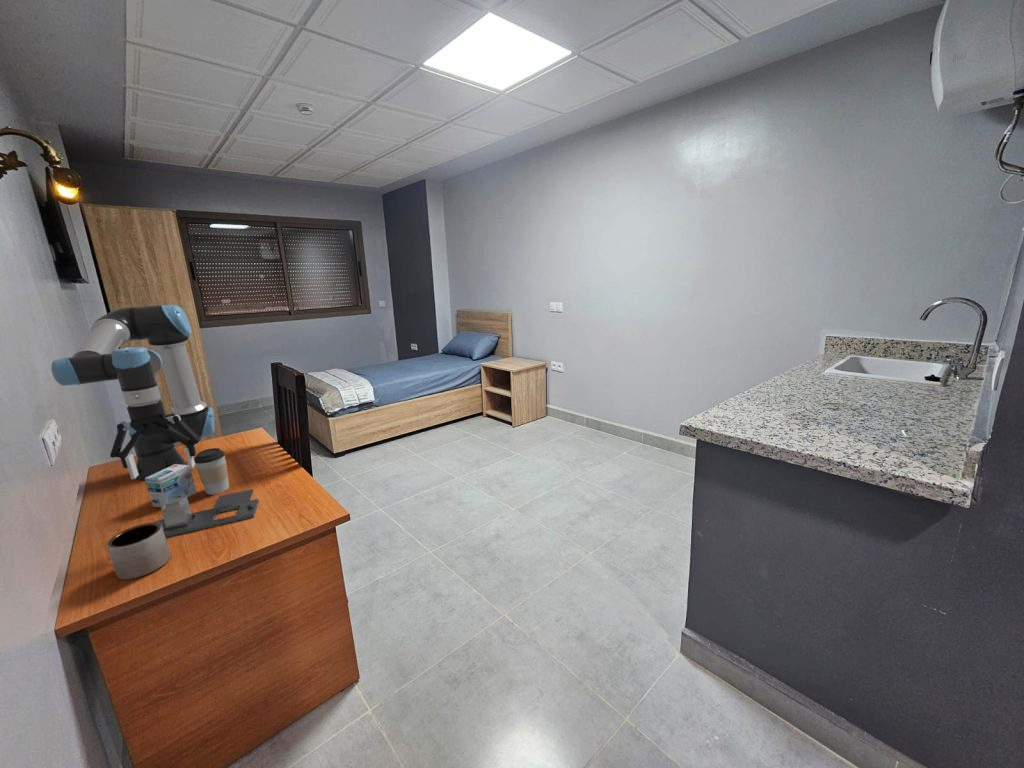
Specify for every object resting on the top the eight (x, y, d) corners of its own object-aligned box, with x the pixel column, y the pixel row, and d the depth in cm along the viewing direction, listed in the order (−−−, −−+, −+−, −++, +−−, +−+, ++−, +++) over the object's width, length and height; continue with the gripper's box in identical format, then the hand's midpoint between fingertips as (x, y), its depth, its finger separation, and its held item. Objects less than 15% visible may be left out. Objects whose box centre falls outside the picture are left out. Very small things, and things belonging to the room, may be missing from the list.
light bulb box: (168, 508, 135) (159, 479, 132) (152, 507, 136) (143, 478, 134) (198, 492, 145) (190, 464, 142) (182, 490, 147) (175, 463, 144)
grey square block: (173, 524, 126) (166, 498, 124) (193, 519, 128) (186, 494, 126) (168, 533, 122) (160, 507, 119) (188, 528, 123) (181, 502, 121)
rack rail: (154, 524, 126) (153, 519, 126) (258, 501, 137) (257, 497, 136) (141, 543, 117) (139, 537, 117) (253, 517, 128) (252, 512, 127)
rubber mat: (219, 497, 141) (219, 495, 141) (253, 490, 144) (252, 488, 144) (212, 512, 132) (212, 510, 132) (248, 504, 136) (248, 502, 135)
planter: (107, 575, 105) (96, 543, 102) (155, 549, 114) (146, 519, 112) (133, 585, 101) (121, 552, 98) (181, 557, 111) (171, 526, 108)
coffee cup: (200, 499, 140) (189, 459, 136) (204, 487, 148) (194, 449, 144) (231, 491, 144) (221, 452, 140) (234, 481, 152) (225, 443, 148)
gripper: (78, 414, 106) (103, 487, 112) (194, 399, 116) (211, 467, 121) (93, 406, 113) (116, 476, 118) (201, 392, 122) (218, 457, 128)
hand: (164, 471), depth 120 cm, fingers open, 13 cm apart
